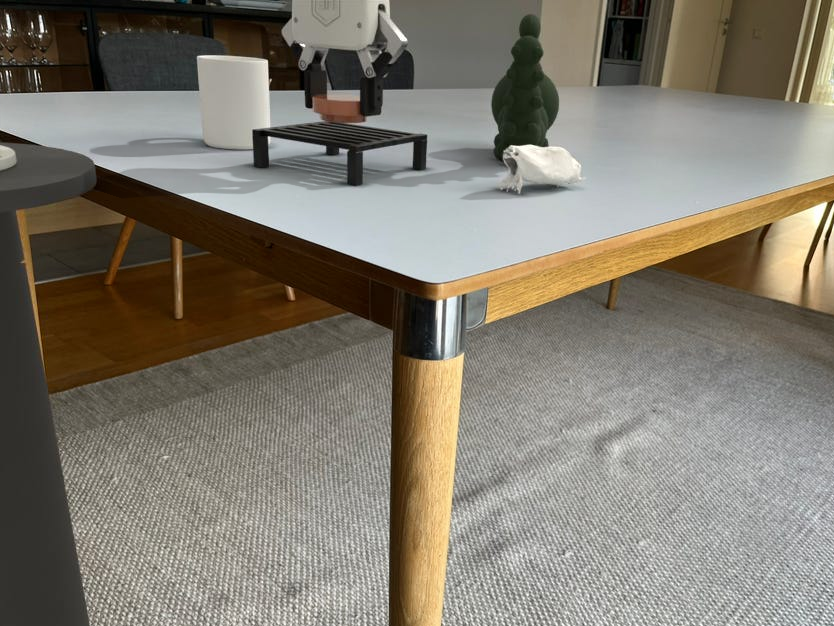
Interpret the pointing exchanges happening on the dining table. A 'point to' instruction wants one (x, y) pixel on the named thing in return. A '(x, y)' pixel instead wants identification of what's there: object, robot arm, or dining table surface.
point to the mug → (233, 99)
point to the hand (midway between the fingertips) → (343, 110)
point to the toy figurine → (524, 94)
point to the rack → (340, 143)
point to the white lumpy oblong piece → (539, 166)
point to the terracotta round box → (338, 108)
